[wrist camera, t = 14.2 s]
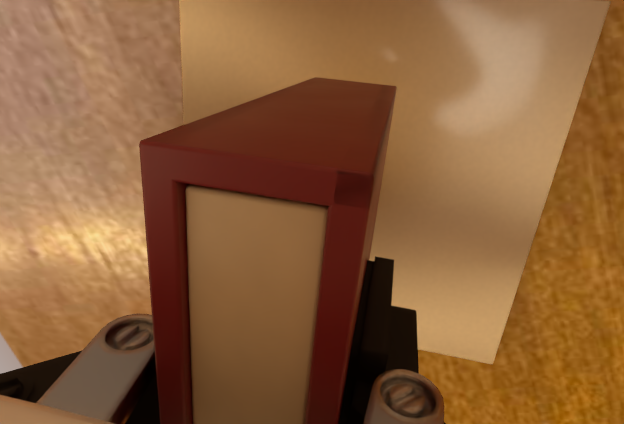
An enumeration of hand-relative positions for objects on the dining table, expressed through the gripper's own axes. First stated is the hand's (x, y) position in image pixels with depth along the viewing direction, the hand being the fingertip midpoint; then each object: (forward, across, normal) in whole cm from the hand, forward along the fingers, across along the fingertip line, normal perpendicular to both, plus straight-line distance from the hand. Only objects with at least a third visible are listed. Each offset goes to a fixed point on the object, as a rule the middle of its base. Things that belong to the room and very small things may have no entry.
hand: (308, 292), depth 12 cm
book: (+6, 0, 0) cm, 6 cm away
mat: (+10, 0, 0) cm, 10 cm away
